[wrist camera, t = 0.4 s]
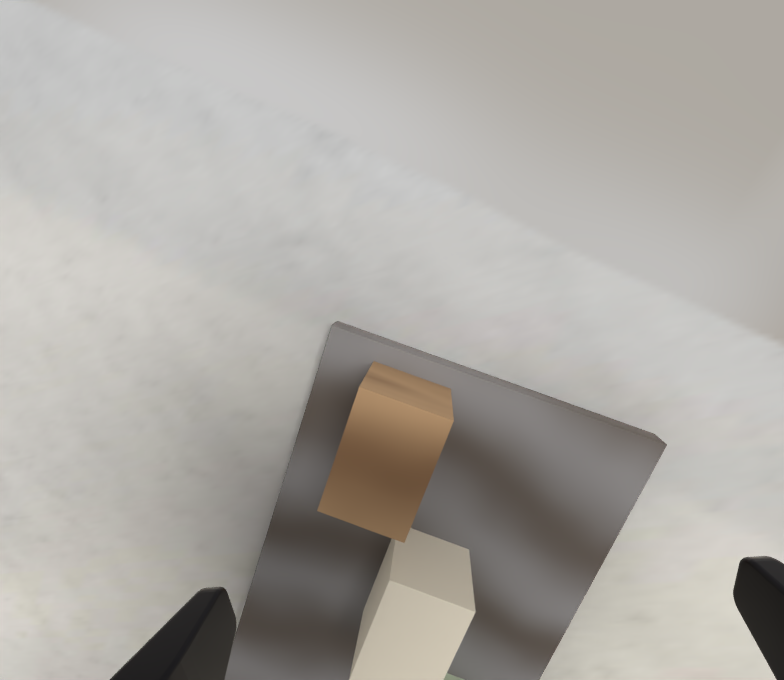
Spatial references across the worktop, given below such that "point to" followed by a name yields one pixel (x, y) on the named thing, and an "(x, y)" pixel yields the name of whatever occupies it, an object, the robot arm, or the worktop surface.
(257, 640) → the slate board
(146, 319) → the worktop surface
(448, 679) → the sage brick
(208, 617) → the robot arm
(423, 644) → the cream brick
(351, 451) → the walnut brick
